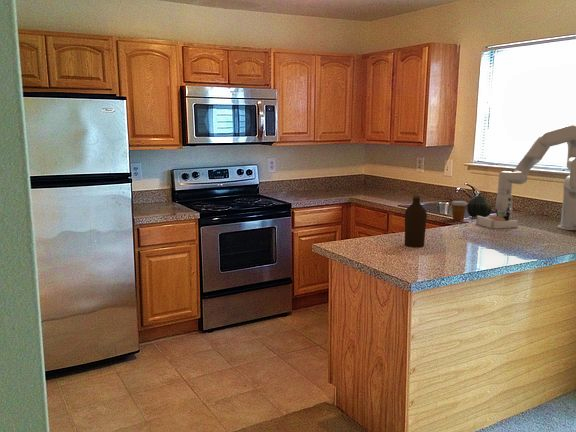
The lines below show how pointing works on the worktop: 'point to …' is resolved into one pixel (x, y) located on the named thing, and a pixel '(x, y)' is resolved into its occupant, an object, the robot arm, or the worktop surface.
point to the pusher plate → (497, 218)
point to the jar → (501, 213)
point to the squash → (479, 207)
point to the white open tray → (495, 223)
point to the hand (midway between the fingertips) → (502, 221)
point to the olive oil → (415, 223)
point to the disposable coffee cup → (458, 210)
